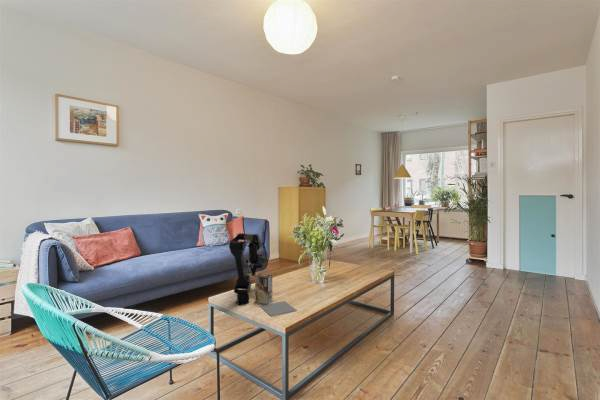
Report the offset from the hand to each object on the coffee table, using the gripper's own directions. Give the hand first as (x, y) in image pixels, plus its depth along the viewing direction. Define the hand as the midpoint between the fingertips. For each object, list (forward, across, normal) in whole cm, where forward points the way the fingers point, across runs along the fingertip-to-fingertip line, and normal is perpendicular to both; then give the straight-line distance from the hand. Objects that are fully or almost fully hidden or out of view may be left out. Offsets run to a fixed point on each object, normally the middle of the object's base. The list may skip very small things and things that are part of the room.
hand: (253, 275), depth 200 cm
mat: (+11, -33, -3) cm, 35 cm away
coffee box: (+11, -19, 0) cm, 22 cm away
